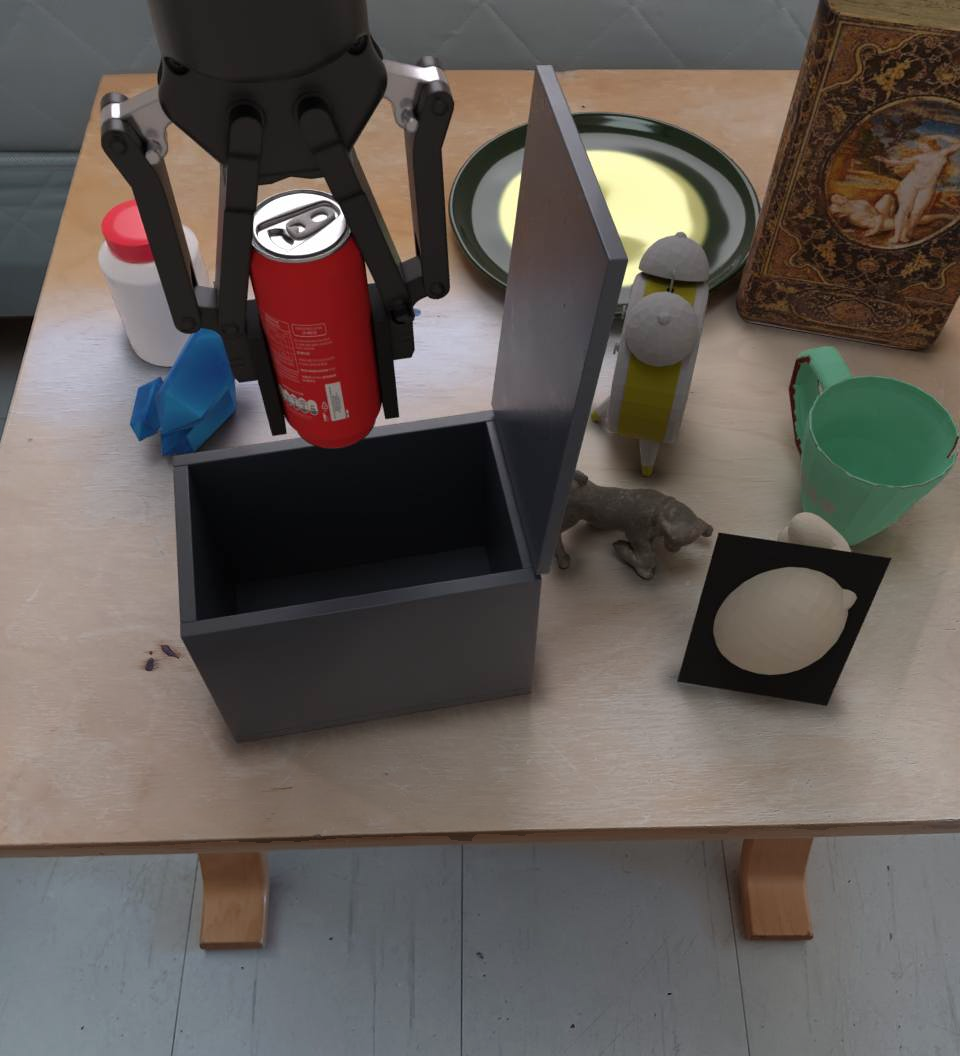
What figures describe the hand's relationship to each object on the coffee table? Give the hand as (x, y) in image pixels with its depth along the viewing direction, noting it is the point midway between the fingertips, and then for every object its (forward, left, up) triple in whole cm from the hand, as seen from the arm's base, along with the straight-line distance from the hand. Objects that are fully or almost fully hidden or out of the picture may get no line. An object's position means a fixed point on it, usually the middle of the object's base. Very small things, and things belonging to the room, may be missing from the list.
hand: (332, 406), depth 52 cm
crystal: (-17, +14, -21) cm, 30 cm away
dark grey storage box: (+1, -2, -20) cm, 21 cm away
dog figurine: (+17, +9, -21) cm, 28 cm away
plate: (+10, +44, -21) cm, 50 cm away
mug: (+31, +17, -21) cm, 41 cm away
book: (+31, +37, -21) cm, 52 cm away
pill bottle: (-23, +23, -21) cm, 39 cm away
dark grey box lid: (+10, +2, +4) cm, 11 cm away
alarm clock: (+16, +21, -21) cm, 33 cm away
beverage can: (0, 0, -1) cm, 1 cm away
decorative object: (+27, +3, -21) cm, 34 cm away
